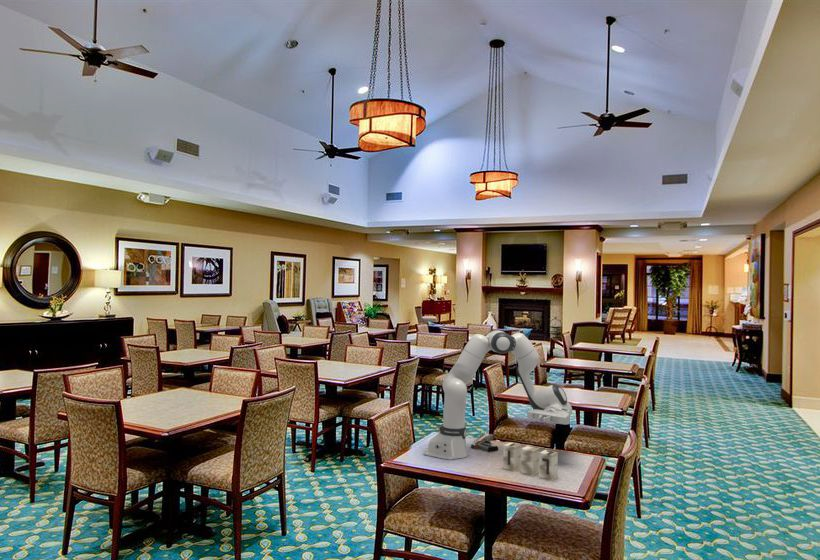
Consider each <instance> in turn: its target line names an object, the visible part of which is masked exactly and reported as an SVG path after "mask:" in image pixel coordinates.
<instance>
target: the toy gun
mask: <svg viewBox="0 0 820 560" xmlns="http://www.w3.org/2000/svg"><path fill="white" fill-rule="evenodd" d="M492 440H494V434H492V433H489V434H488V433H484V434H482V435H480V436H479V437H478V438H477V439H475V440H474V441H473V442H472V443H471V444H470V449H472V450H475V451H478V450H481V451H483V452H484V451H485V452H488V453H493V452H498V451H499V447H498V446H497V445H493V444H492V442H491V441H492Z"/></svg>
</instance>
